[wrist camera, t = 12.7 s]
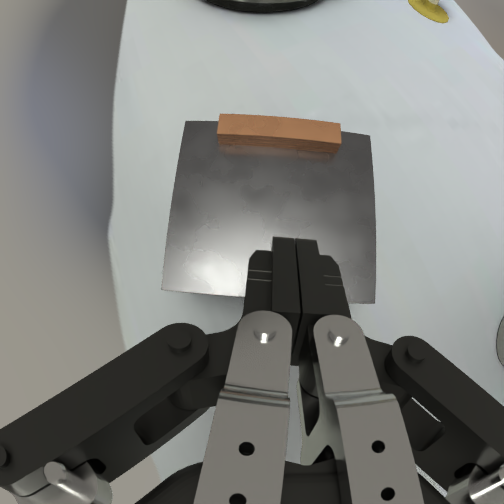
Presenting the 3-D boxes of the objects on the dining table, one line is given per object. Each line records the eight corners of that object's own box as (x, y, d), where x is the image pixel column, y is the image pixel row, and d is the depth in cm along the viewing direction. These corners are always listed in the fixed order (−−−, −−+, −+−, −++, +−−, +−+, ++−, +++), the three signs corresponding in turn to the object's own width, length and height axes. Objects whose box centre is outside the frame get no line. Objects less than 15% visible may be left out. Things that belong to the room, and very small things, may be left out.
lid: (365, 141, 27) (376, 125, 24) (369, 303, 25) (383, 302, 22) (188, 127, 28) (181, 109, 25) (165, 290, 25) (154, 287, 22)
